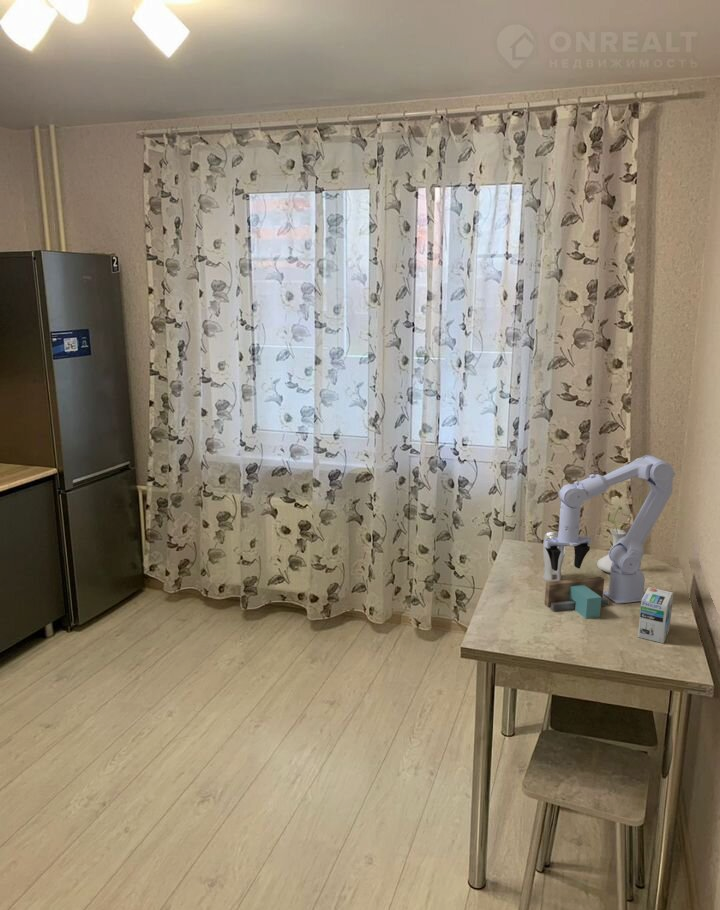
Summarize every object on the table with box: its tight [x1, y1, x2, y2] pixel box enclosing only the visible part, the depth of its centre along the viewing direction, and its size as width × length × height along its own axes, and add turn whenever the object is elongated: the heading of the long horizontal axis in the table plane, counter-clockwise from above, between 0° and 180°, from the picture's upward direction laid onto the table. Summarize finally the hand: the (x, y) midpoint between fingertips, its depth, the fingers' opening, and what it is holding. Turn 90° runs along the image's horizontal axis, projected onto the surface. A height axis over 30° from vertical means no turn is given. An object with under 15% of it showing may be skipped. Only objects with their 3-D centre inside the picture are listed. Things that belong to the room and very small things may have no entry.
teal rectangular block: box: [569, 585, 602, 619], centre depth 198 cm, size 4×9×6 cm, turn 15°
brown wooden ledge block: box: [544, 576, 610, 613], centre depth 202 cm, size 18×5×7 cm, turn 104°
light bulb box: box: [637, 586, 674, 644], centre depth 185 cm, size 11×7×11 cm, turn 148°
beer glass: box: [541, 530, 567, 582], centre depth 220 cm, size 7×7×15 cm
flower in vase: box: [596, 495, 632, 574], centre depth 227 cm, size 13×11×25 cm
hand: (565, 568), depth 205 cm, fingers open, 7 cm apart
